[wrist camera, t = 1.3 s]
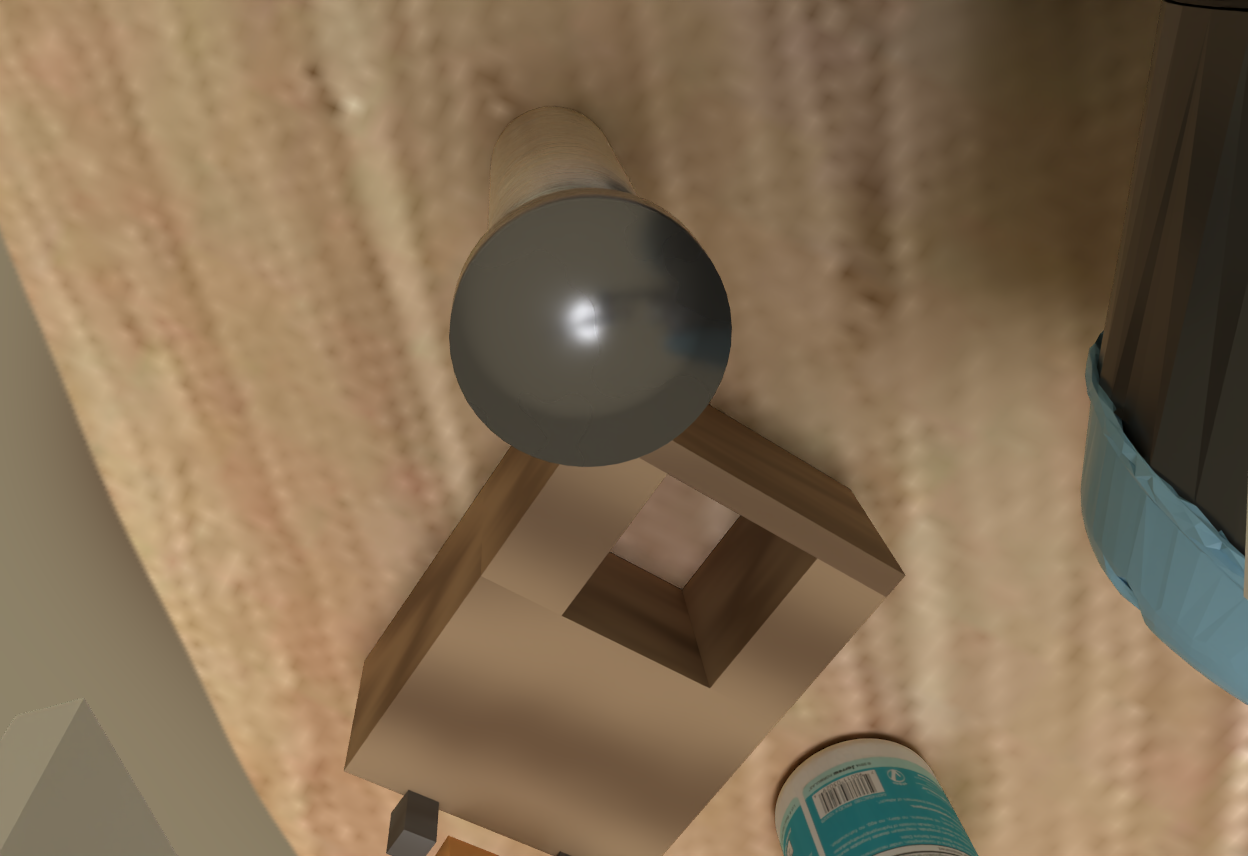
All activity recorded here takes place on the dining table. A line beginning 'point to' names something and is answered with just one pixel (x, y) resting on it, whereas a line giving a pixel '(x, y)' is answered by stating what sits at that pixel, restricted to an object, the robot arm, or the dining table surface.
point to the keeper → (460, 849)
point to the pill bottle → (867, 805)
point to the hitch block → (609, 647)
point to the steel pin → (583, 304)
